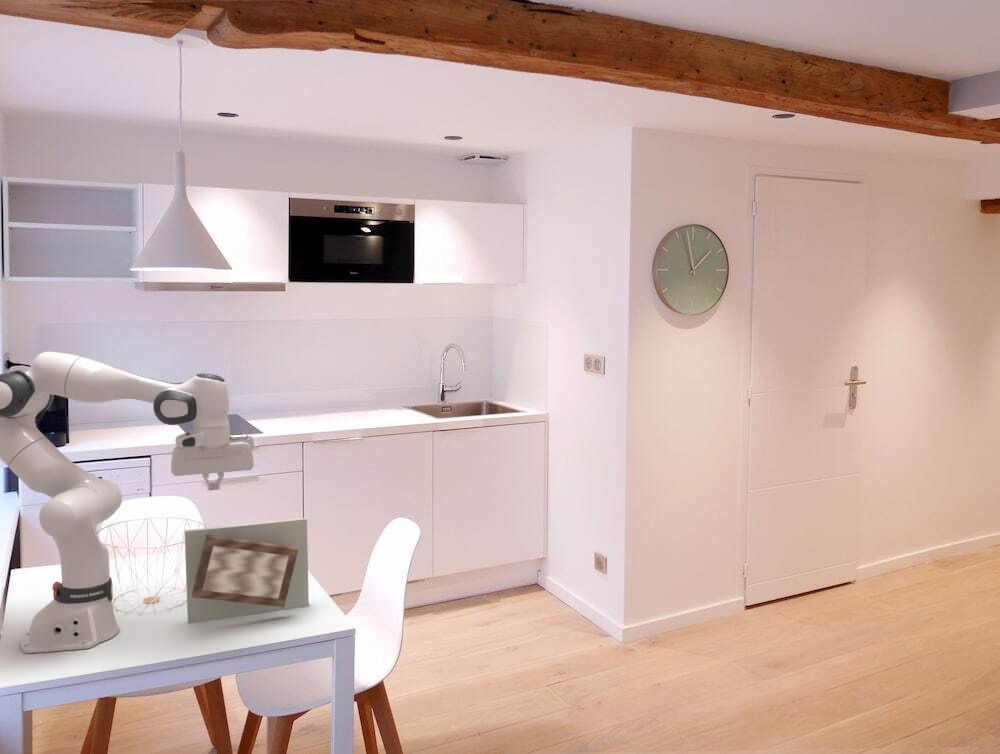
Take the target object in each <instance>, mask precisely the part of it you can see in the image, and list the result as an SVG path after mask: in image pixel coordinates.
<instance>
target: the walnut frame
mask: <svg viewBox="0 0 1000 754" xmlns="http://www.w3.org/2000/svg"><path fill="white" fill-rule="evenodd" d="M297 553H298V548H297V547H292V546H285V545H278V544H271V543H264V542H257V541H249V540H242V539H235V538H228V537H221V536H214V535H206V538H205V542H204V546H203V550H202V554H201V558H200V562H199V566H198V570H197V574H196V578H195V582H194V586H193V590H192V597H195V598H204V599H213V600H222V601H231V602H240V603H249V604H259V605H268V606H277V607H284V606H285V602H286V598H287V594H288V590H289V585H290V581H291V577H292V573H293V569H294V565H295V561H296V557H297Z"/></svg>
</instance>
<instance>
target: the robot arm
mask: <svg viewBox="0 0 1000 754" xmlns="http://www.w3.org/2000/svg"><path fill="white" fill-rule="evenodd" d="M55 396H58V397H63V398H65V399H69V400H70V399H71V400H73V401H77V402H83V403H90V404H93V403H95V404H96V403H97V404H98V403H106V402H109V401H117V400H137V401H141V402H146V403H150V404H153V405H152V408H153V412H154V415H155V417H156V418H157V420H159V422H161V423H163V425H168V426H178V425H182V424H185V423H192V425H193V430H190V431H188V432H185V433H182V434H179V435H177V436H176V437H175V445H176V446H175V447H174V448H173V450H172V454H171V462H170V463H171V464H170V466H171V467H170V471H171V474H172V475H173V476H174V477H179V476H180V477H181V476H193V475H194V476H195V475H202V478H203V480H204V481H205V483H206V484H207V487H206V489H207V491H216V490H217V491H219V490H220V489H221V487H220V485H221V482H222V480H223V479H224V476H225V473H232V472H242V471H243V472H245V471H251V470H253V468H254V464H255V463H254V462H255V461H254V456H253V450H254V448H255V441H254V439H253V437H252V436H250V435H248V434H242V435H237V434H235V435H231V431H230V430H231V429H230V428H231V427H230V426H231V425H230V421H229V410H230V399H229V398H230V397H229V389H228V384H227V382H226V380H225V379H224V378H223V377H222V376H220V375H217V374H212V373H198V374H195V375H194V376H193V377H192V378H190V379H188V380H186V381H184V382H176V383H173V382H167V381H163V380H159V379H155V378H149V377H146V376H142V375H137V374H135V373H134V374H133V373H130V372H127V371H124V370H122V369H119V368H115V367H113V366H110V365H107V364H106V363H102V362H100V361H96V360H94V359H91V358H87V357H84V356H80V355H76V354H72V353H65V352H57V351H43V352H41V353H39V354H37V356H36V357H35V358H33V360H32V361H31V363H30V367H29V369H28V370H26V371H23V370H20V369H16V370H13V371H9V372H5V373H1V374H0V460H1V461H2V462H3V463H4V464H5V465H6V466H7V468H9V470H11V472H13V473H14V475H16V476H17V478H19V479H20V481H22V482H23V484H25V486H26V487H28V489H30V490H31V491H33V492H36V493H40V494H44V495H46V496H48V497H50V498H51V499H49V500H48V501H47V502H46V503H45V504H44V505H43V506H42V507H41V509H40V512H39V516H38V517H39V518H38V519H39V521H38V522H39V524H40V527H41V528H42V530H43V531H44V533H45V534H47V535H49V536H50V537H52V539H53V541H54V542H55V545H56V548H57V551H58V554H59V559H60V560H59V561H60V568H61V569H60V570H61V571H60V572H61V582H60V581H54V582H53V584H52V590H53V592H52V593H53V594H52V595H53V600H52V601H50V602H49V603H47V604H46V605H45V606H44V607H43V608H41V609H40V610H39V611H38V612H37V613H36V614H35V615H34V617H33V619H32V620H31V624H30V629H29V630H28V631H27V632H26V633H25V634H24V635H23V636H22V638H21V640H20V645H19V646H20V649H21V652H23V653H25V654H36V653H47V652H62V651H72V650H73V651H74V650H85V649H91V648H93V647H96V645H98V644H100V643H102V642H105V641H107V640H110V639H111V638H113V637H115V636H116V635H117V634H118V633H119V632H120V627H119V625H118V623H117V620H116V616H115V612H114V608H113V606H114V605H113V601H112V600H113V597H114V589H113V582H112V581H113V580H112V577H111V575H110V553H109V549H108V547H107V546H106V545H105V544H103V543H102V542H101V540H100V538H99V535H98V532H97V531H98V530H97V527H98V524H101V523H103V522H105V521H106V520H108V519H110V518H111V517H112V516H113V515H114V514H115V513H116V512H117V511H118V510H119V509H120V507H121V504H122V501H123V496H122V490H120V488H119V486H118V485H117V484H116V483H114V482H113V481H111V480H108V479H103V478H100V477H98V476H96V475H94V474H92V473H91V472H89V471H87V470H86V469H84V468H83V467H81V466H80V465H79V466H78V465H77V464H76V463H75V462H73V461H71V459H69V458H68V457H67V456H66V455H65V454H64V453H62V452H61V451H60V450H59V449H58V448H57V447H56V446H55V444H54V443H53V442H51V441H50V440H49V439H48V438H47V437H46V436H45V435H44V434H43V433H42V432H41V430H39V429H38V427H37V426H36V423H38V422H40V421H41V419H42V418H43V416H44V415H45V413H46V412H47V411H48V409H49V408H50V407H51V406H52V402H53V400H54V397H55ZM210 474H217V477H218V478H217V480H216V481H212V482H211V481H210V480H209V477H210Z"/></svg>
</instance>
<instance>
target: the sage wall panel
mask: <svg viewBox="0 0 1000 754" xmlns="http://www.w3.org/2000/svg"><path fill="white" fill-rule="evenodd" d="M206 535H214V536H221V537H228V538H235V539H242V540H249V541H257V542H264V543H271V544H278V545H285V546H292V547H297V548H298V553H297V557H296V561H295V565H294V569H293V573H292V577H291V581H290V585H289V590H288V594H287V598H286V602H285V606H284V607H277V606H268V605H259V604H249V603H240V602H231V601H222V600H213V599H204V598H195V597H192V590H193V586H194V582H195V578H196V574H197V570H198V566H199V562H200V558H201V554H202V550H203V546H204V542H205V538H206ZM184 548H185V549H184V550H185V551H184V552H185V553H184V554H185V555H184V557H185V558H184V559H185V577H186V578H185V581H186V583H185V584H186V606H187V613H186V614H187V624H194V623H199V622H207V621H213V620H214V619H215V620H222V619H227V618H228V617H229V618H235V617H240V616H248V614H249V615H256V614H260V613H262V614H263V613H269V612H270V613H271V612H275V611H276V612H278V611H283V610H288V609H289V610H291V609H297V608H301V607H302V608H303V607H309V605H310V604H309V559H308V558H309V556H308V555H309V553H308V552H309V551H308V550H309V549H308V548H309V547H308V518H306V517H299V518H291V519H289V518H288V519H282V520H281V519H280V520H271V521H263V522H254V523H253V522H251V523H242V524H232V525H223V526H213V527H203V528H196V529H187V530H184ZM221 618H222V619H221Z"/></svg>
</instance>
